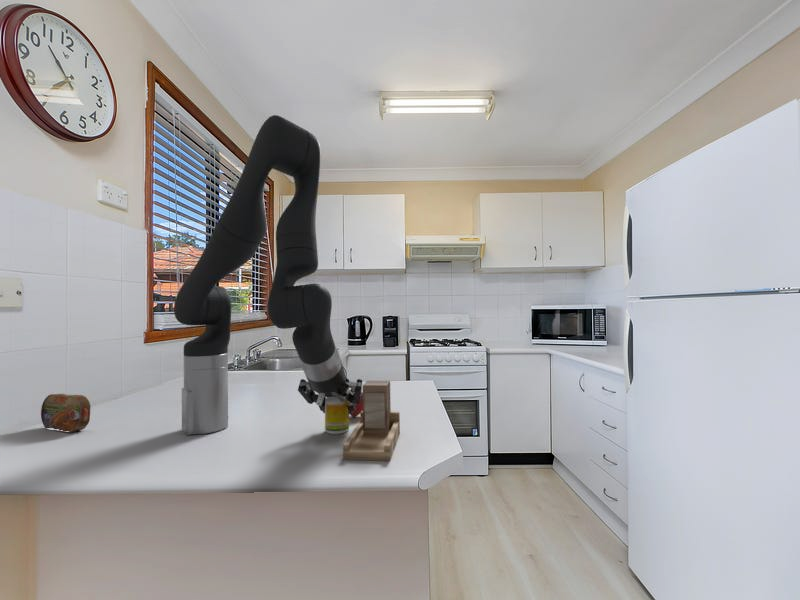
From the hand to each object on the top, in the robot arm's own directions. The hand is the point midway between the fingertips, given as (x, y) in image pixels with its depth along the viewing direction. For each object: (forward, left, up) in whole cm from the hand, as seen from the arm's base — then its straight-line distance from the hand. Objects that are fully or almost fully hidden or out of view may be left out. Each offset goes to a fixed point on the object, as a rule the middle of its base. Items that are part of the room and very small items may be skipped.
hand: (339, 409), depth 89 cm
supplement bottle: (-1, -1, -4) cm, 5 cm away
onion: (+8, +6, -4) cm, 11 cm away
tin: (-49, +43, -5) cm, 65 cm away
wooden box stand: (0, -14, -4) cm, 15 cm away
